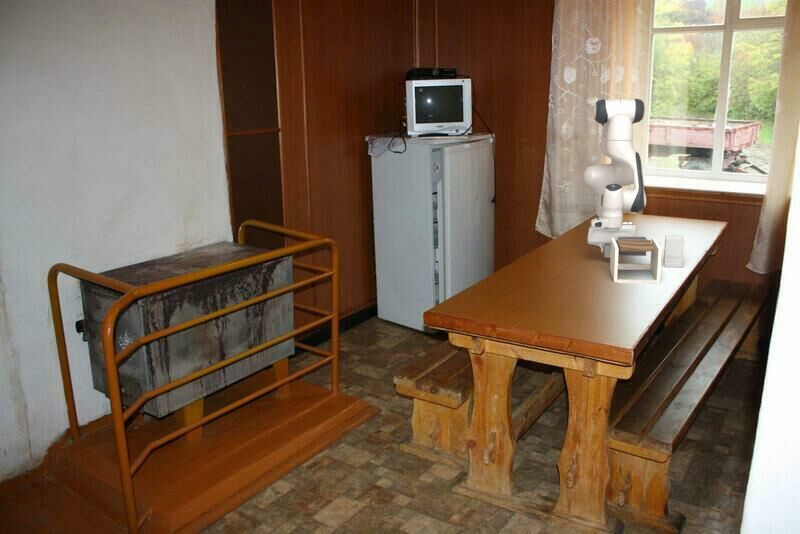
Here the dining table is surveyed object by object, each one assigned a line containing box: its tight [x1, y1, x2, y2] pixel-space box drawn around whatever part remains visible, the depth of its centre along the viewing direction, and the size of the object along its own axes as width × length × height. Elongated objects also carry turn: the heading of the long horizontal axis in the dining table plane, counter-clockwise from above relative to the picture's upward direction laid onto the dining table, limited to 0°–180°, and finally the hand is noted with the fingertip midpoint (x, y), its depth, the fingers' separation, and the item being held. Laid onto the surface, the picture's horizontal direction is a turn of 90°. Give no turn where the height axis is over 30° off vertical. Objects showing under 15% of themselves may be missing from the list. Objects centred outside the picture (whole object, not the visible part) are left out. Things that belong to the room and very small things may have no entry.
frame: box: [609, 237, 663, 285], centre depth 286 cm, size 20×18×14 cm
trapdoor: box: [616, 236, 655, 257], centre depth 288 cm, size 20×14×7 cm
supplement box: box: [663, 234, 685, 268], centre depth 299 cm, size 7×7×13 cm
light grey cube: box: [603, 244, 611, 259], centre depth 308 cm, size 5×5×5 cm
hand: (610, 252), depth 308 cm, fingers closed on light grey cube, 5 cm apart
